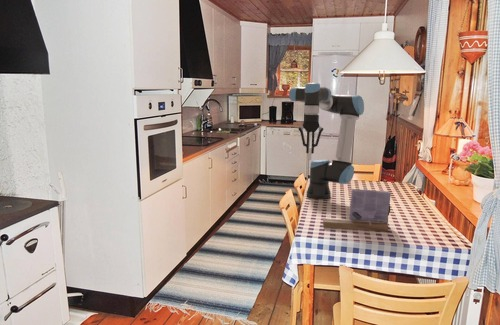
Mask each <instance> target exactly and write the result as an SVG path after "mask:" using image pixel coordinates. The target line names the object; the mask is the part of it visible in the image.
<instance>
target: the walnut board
mask: <svg viewBox="0 0 500 325" xmlns="http://www.w3.org/2000/svg"><path fill="white" fill-rule="evenodd" d="M322 219H323V221H322V226H323V228H325V229H335V230H336V229H337V230H338V229H340V230H352V231H354V230H356V231H367V232H368V231H369V232H379V233H380V232H384V233H388V232H389V230H388V229H389V225H387V223H386V222H372V221H357V220H349V219H341V218H339V219H338V218H322Z"/></svg>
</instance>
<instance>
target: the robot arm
mask: <svg viewBox="0 0 500 325" xmlns="http://www.w3.org/2000/svg"><path fill="white" fill-rule="evenodd" d="M304 86H305V87H299V86H297V87H292V88H290V89H289V92H288V97H289V99H290V101H292V102H300V103H304V107H303V108H304V110H303V113H304V115H303V123H302V125H301V126H298V128H297V129H298V131H299V132H300V137H301V141H302V142H301V143H302V146H303V147H305V148H306V149H305V150H306V151H305V153H306V154H308V157H307V158H308V159H307V160H308V161H311V162H310V167H309V168H310V169H309V184H308V187H307V190H306V196H307V197H308V198H312V199H317V200H326V199H329V198H331V196H332V193H331V189H330V186H329V182H330V183H335V184H339V185H340V184H341V185H342V184H343V185H347V184H350V182H351V181H352V180H353V178H354V173H355V167H354V165H352V164H353V162H352V161H351V152H352V148H353V147H352V146H353V140H354V135H355V130H356V129H355V128H356V123H357V122H356V121H357V120H359V118H360V116H361V115H363V114H364V112H365V103H364V102H365V101H364V99H363V98H362V96H361V95H358V94H332V91H331V89H330V88H328V87H326V86H324V87H322V86H321V84H320V83H318V82H307V83H305V85H304ZM320 109H321V110H322V111H326V112H329V113H331V114H336V115H338V114H339V115H338V116H339V117H340V126H339V131H338V132H339V134H338V139H337V145H336V150H335V151H336V152H335V157H334V158H333V159H332V161H331V162H330V159H315V160H314V159H313V160H312V154H314V152H315V147H318V145H319V142H320V139H321V135H322V133H323V131H324V128H323V127H322V126H320V123H319V121H320V120H319V119H320V116H319V114H320ZM304 130H305V132H306V139H305V136H304ZM317 130H318V133H317V137H316V141H315V133H316V132H317ZM310 133H311V146H310Z"/></svg>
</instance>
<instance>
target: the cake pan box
mask: <svg viewBox="0 0 500 325" xmlns="http://www.w3.org/2000/svg"><path fill="white" fill-rule="evenodd" d="M391 194H392V193H391V192H390V191H388V190H387V191H385V190H372V189H360V188H352V189H351V196H350V206H349V217H348V218H349V219H348V220H357V221H372V222H386V223H387V225H388V224H389V216H390V212H391V204H390V202H391ZM388 226H389V225H388Z"/></svg>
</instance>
